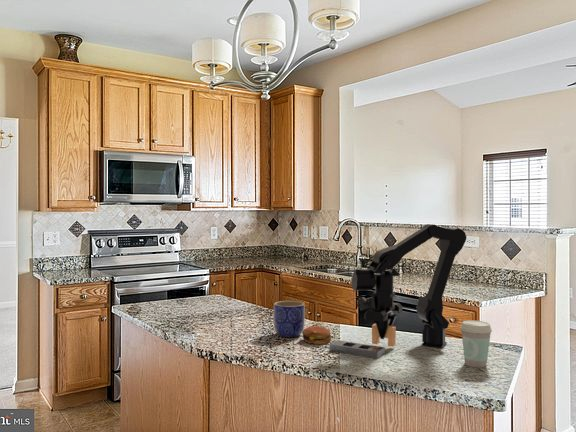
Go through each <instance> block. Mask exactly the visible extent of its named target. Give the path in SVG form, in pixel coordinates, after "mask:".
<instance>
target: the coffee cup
mask: <svg viewBox="0 0 576 432" xmlns="http://www.w3.org/2000/svg"><path fill="white" fill-rule="evenodd" d="M459 329H460V330H461V339H462V348H463V358H464V364H465V365H466V366H468V367H471V368H485V367H486V366H487V362H488V357H489V354H488V353H489V350H490V349H489V347H490V341H491V335H492V334H491V333H492V332H493V330H492V327H491V324H490V322H487V321H482V320H475V319H474V320H471V319H469V320H467V319H466V320H464V321H462V322H461V325H460V328H459Z"/></svg>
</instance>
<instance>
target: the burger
mask: <svg viewBox="0 0 576 432" xmlns="http://www.w3.org/2000/svg"><path fill="white" fill-rule="evenodd" d="M331 333H332V332H331V331H330V330H329V328H326V327H323V326H319V325H317V326H316V325H313V326H312V325H311V326H308V327H306V328H304V329H303V331H302V333H301V334H302V338H303V339H304V341H305V343H308V344H313V345H316V346H317V345H327V344H329V343H330V341H331V339H332V335H331Z"/></svg>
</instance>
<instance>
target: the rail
mask: <svg viewBox="0 0 576 432" xmlns="http://www.w3.org/2000/svg"><path fill="white" fill-rule="evenodd" d="M385 351H386V347H385V346H378V345H372V344H365V343H360V342H359V343H358V342H353V341H345V340H339V339H338V340H335V341H334V342H332V343H330V344H329V352H336V353H342V354H348V355H354V356H359V357H365V358H371V359H379V358H381V357H382V356H384V355H385V354H386V352H385Z"/></svg>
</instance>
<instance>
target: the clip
mask: <svg viewBox="0 0 576 432" xmlns="http://www.w3.org/2000/svg"><path fill="white" fill-rule="evenodd" d="M396 331H397V327H396V326H395V325H392V326H388V329H387V332H386V335H385V337H384V339H385V338H386V339H387V347H390V348H391V347H392V348H393V347H394V346H396V337H397V336H396V335H397V333H396ZM380 340H381V338H380V335H379V332H378V328H377V325H376V323H373V324H372V325H371V345H372V344H374V345H378V344H380Z"/></svg>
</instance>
